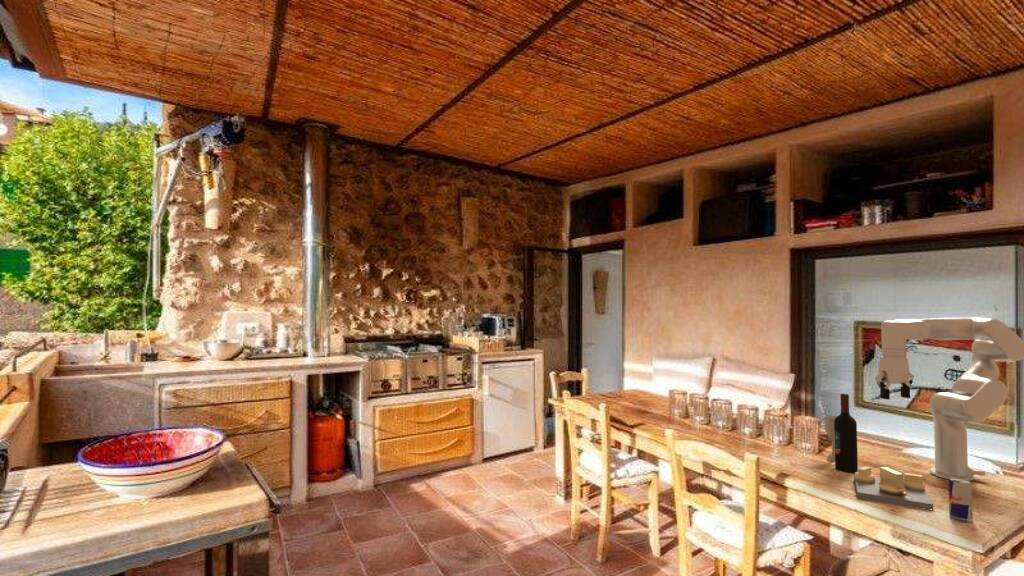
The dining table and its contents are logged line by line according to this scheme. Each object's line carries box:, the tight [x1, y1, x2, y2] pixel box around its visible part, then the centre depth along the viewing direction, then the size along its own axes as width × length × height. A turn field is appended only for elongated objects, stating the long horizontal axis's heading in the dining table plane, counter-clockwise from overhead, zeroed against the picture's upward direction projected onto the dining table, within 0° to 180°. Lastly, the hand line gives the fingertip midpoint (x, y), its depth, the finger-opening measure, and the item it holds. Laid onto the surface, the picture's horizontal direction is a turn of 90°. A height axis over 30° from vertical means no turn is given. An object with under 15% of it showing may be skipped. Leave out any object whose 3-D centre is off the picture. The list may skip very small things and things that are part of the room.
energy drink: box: [947, 477, 974, 524], centre depth 154 cm, size 5×5×12 cm
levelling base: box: [853, 466, 934, 511], centre depth 174 cm, size 20×20×6 cm
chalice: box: [822, 415, 838, 463], centre depth 212 cm, size 7×7×18 cm
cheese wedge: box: [879, 466, 907, 496], centre depth 170 cm, size 9×7×7 cm
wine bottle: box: [834, 393, 859, 474], centre depth 200 cm, size 8×8×30 cm
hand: (895, 398), depth 190 cm, fingers open, 9 cm apart
